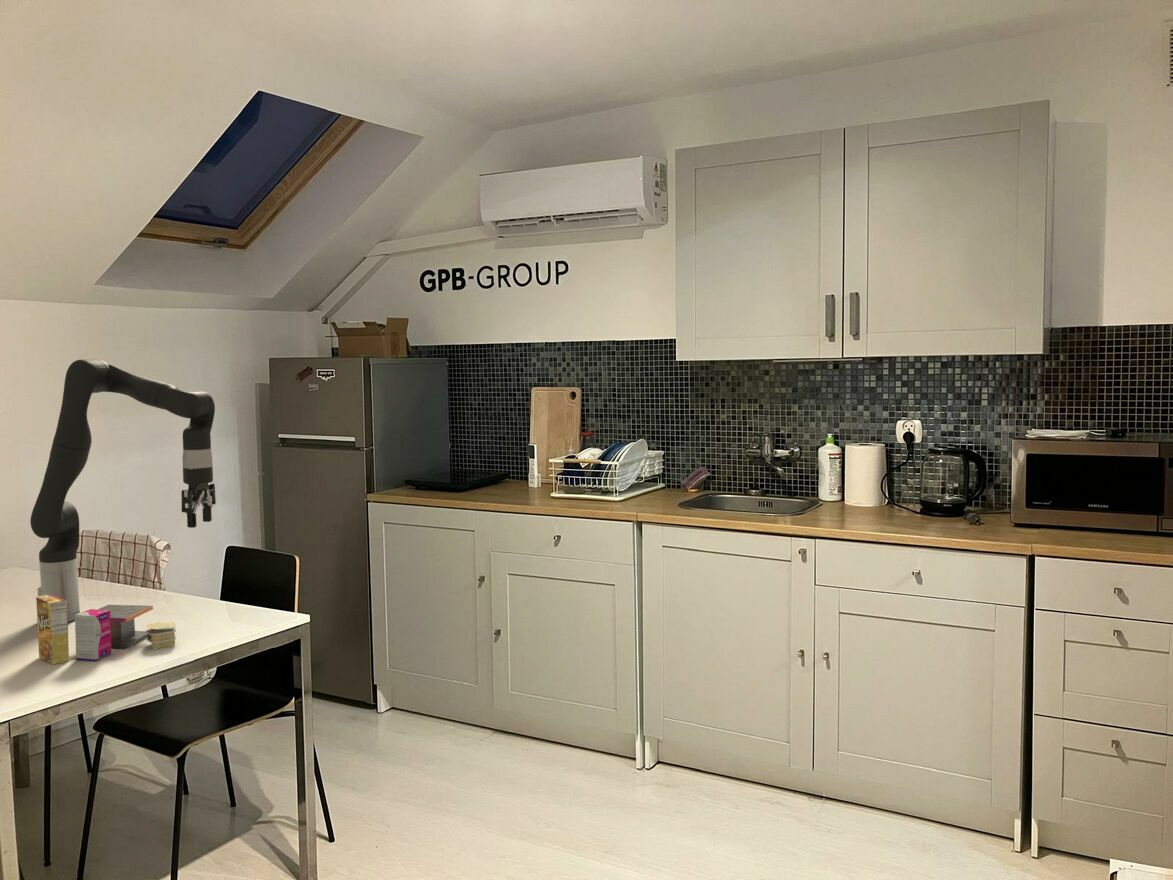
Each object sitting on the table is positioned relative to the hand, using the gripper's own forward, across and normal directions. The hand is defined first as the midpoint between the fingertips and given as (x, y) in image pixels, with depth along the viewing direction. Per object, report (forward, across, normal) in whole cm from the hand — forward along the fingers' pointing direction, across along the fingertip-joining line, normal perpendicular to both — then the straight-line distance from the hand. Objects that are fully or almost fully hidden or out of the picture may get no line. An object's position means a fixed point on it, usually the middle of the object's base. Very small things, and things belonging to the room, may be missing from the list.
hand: (199, 524), depth 257 cm
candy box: (+29, +30, -23) cm, 47 cm away
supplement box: (+28, +28, -14) cm, 42 cm away
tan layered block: (+29, +17, -2) cm, 34 cm away
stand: (+28, +15, -15) cm, 36 cm away
